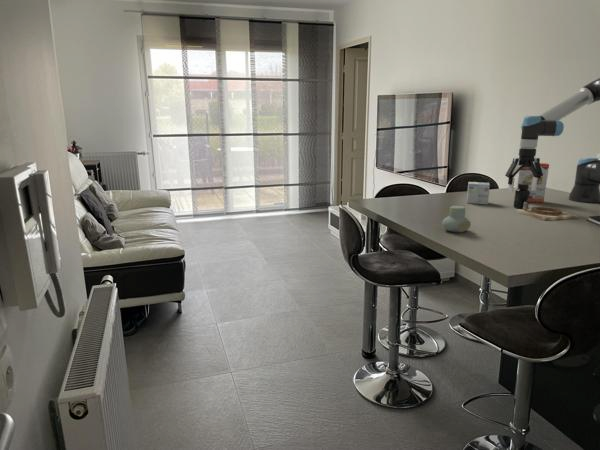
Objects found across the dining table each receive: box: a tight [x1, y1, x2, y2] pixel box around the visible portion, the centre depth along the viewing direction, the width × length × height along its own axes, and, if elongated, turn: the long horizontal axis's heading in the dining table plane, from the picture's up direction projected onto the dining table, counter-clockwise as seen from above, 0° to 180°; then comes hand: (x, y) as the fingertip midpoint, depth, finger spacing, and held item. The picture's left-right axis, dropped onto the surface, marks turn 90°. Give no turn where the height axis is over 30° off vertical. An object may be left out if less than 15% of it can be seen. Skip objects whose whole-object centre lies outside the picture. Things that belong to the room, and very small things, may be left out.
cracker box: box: [513, 162, 550, 204], centre depth 245 cm, size 14×6×21 cm, turn 73°
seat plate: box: [516, 202, 578, 221], centre depth 215 cm, size 18×18×5 cm
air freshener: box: [441, 205, 471, 233], centre depth 186 cm, size 11×8×10 cm
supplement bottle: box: [513, 184, 530, 209], centre depth 230 cm, size 7×7×12 cm
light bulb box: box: [466, 181, 490, 205], centre depth 242 cm, size 11×7×11 cm, turn 71°
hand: (522, 190), depth 230 cm, fingers open, 13 cm apart
